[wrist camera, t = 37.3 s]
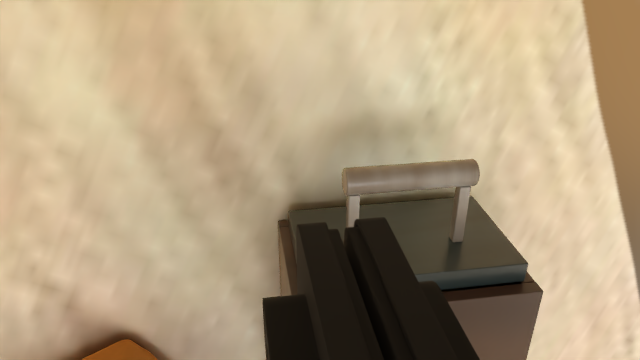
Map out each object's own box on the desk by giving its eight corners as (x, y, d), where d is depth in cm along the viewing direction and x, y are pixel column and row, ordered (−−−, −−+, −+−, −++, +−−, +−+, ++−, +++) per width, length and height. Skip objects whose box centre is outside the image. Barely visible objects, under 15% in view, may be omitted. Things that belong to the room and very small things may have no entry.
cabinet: (277, 220, 34) (295, 318, 26) (472, 204, 36) (543, 291, 28) (284, 383, 41) (299, 500, 33) (447, 362, 43) (499, 468, 35)
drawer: (286, 136, 31) (303, 200, 24) (483, 124, 33) (547, 181, 26) (292, 369, 39) (306, 461, 33) (448, 350, 41) (490, 434, 35)
